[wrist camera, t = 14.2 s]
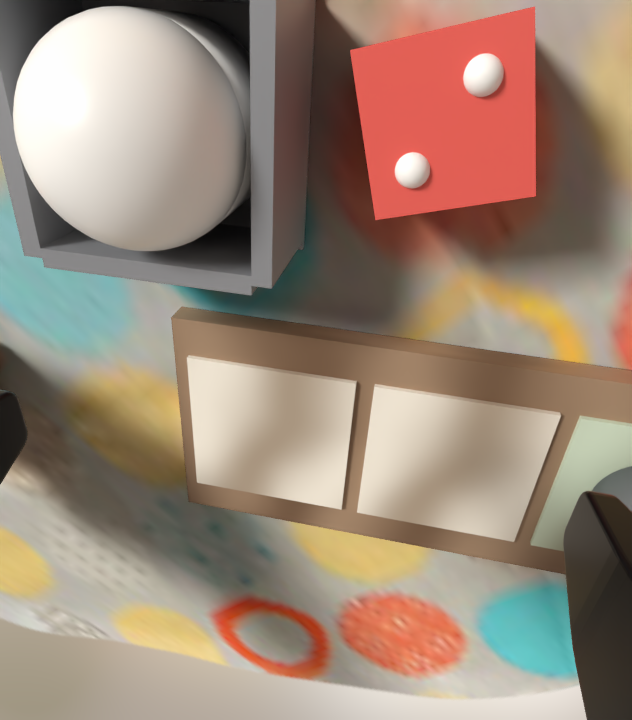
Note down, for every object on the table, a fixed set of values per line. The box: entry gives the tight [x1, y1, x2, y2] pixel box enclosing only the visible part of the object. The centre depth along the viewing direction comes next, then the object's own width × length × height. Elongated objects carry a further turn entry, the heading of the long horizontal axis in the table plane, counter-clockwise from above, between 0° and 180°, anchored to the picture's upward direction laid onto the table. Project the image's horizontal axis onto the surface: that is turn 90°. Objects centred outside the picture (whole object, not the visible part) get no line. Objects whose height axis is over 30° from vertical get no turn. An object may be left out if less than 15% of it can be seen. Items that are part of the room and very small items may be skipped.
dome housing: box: [0, 0, 316, 295], centre depth 16 cm, size 8×8×4 cm
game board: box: [171, 307, 632, 574], centre depth 22 cm, size 23×10×1 cm, turn 86°
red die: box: [350, 7, 536, 220], centre depth 14 cm, size 4×4×4 cm
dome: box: [13, 6, 251, 251], centre depth 14 cm, size 6×6×6 cm
